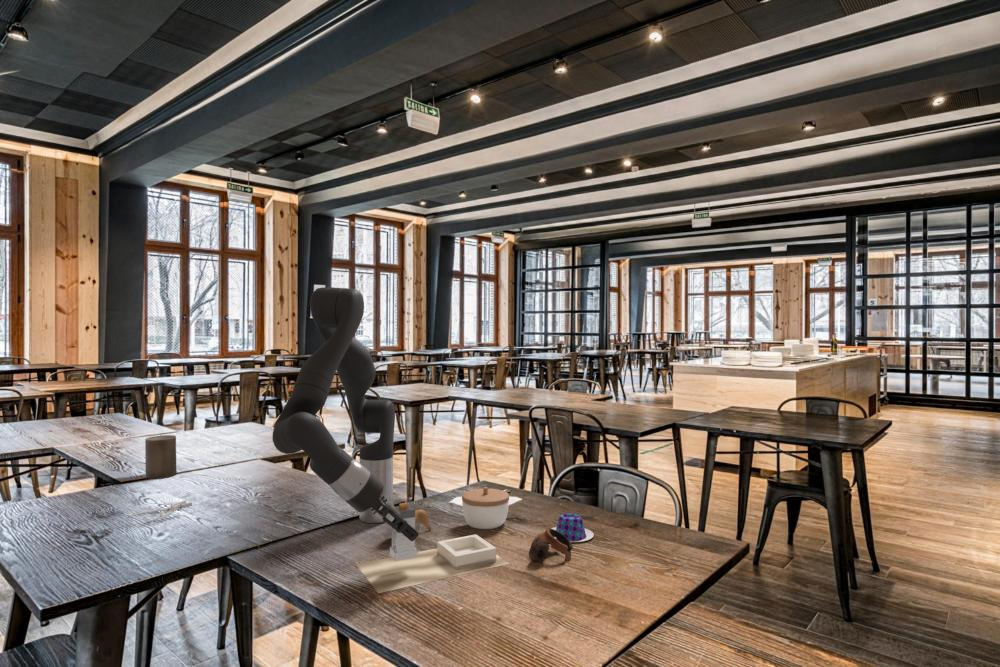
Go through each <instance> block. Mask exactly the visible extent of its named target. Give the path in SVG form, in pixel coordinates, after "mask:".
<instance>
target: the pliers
mask: <svg viewBox="0 0 1000 667" xmlns="http://www.w3.org/2000/svg"><path fill="white" fill-rule="evenodd" d="M189 506H192V507H193V502H192V501H191V502H187V500H183V501H178V502H176V503H173V504H171V505H170V507H169V508H168V507H167V508H159V509H152V510H146V511H141V512H137V513H134V514H130V515H128V518H129V517H130V518H132V517H131V516H134V517H136V516H135V515H138V516H141V515H140V514H143V515H146V514H145V513H156V514H160V516H158V517H155V518H153V519H150V520H148V521H147V522H150V523H153V522H152V521H154V522H156V521H155V520H157V521H159V520H158V519H161V518H163V519H165V518H164V517H166V518H167V516H168V517H170V516H171V514H172V513H173V512H174V511H175V512H177V511H179V510H178V509H181V510H183V509H182V508H185V507H188V508H190V507H189ZM185 509H186V508H185ZM165 510H168V511H165ZM176 510H177V511H176ZM158 511H160V512H161V511H164V512H161V513H159V512H158ZM165 512H166V513H165ZM175 512H174V513H175ZM163 513H164V514H163ZM174 513H173V514H174ZM173 514H172V515H173ZM169 515H170V516H169ZM161 520H162V519H161Z"/></svg>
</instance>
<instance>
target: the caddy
mask: <svg viewBox="0 0 1000 667" xmlns="http://www.w3.org/2000/svg"><path fill="white" fill-rule="evenodd" d="M436 542H437V543H436V544H437V545H436V546H437V548H436V549H437V555H438V556H440V557H441V558H442V559H443V560H444V561H445V562H447V563H448V564H449V565H450V566H451V567H452V568H454V569H455V570H460V569H464V568H469V567H473V566H478V565H483V564H487V563H492V562H496V555H497V547H495V546H494V545H492V544H491V543H489V542H488V541H486V539H484V538H482V537H481V536H479V535H478V534H470V535H466V536H460V537H455V538H450V539H449V538H448V539H444V540H439V541H436Z"/></svg>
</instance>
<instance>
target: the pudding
mask: <svg viewBox="0 0 1000 667" xmlns="http://www.w3.org/2000/svg"><path fill="white" fill-rule="evenodd" d="M550 529H554V530H556V531H558V532H559V533H561V534H562V535H564V536H565V537H566V538H567V539H568V540H569V541H570V542H571V543H581V542H585V541H589V540H591V539H592V538H593V537H594V535H595V534H594V532H593V531H592V530H590V529H588V528H585V525H584V521H583V518H582V516H581V515H579V514H576V513H568V512H567V513H563V514H561V515H559V517H558V520H557V524H556V526H555V527H551V528H550ZM554 538H555V539H557V538H556V537H554Z"/></svg>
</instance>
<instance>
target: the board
mask: <svg viewBox="0 0 1000 667" xmlns="http://www.w3.org/2000/svg"><path fill="white" fill-rule="evenodd" d="M507 565H510V563H509V562H508V561H506V559H504V558H502V557H501V556H499V555H498V554H496V562H492V563H487V564H483V565H478V566H473V567H469V568H464V569H460V570H455V569H454V568H452V567H451V566H450V565H449V564H448V563H447V562H445V561H444V560H443V559H442V558H441V557H440V556H438V555H437V548H432V549H427V550H421V551H417V557H416V558H411V559H406V560H401V561H396V562H395V561H394V559H393V558H392V557H391V556H390V557H386V558H382V559H376V560H372V561H366V562H362V563H361V562H360V563H356V564H355V566H356V567H357V568H358V570H359V571H360V572H361V573H362V575H363V576H364V578H366V580H367V581H368V583H369V584H370V585H371V586H372V587H373V589H374V590H375V591H376V593H377V594H382V593H386V592H390V591H396V590H400V589H403V588H408V587H409V588H410V587H413V586H417V585H422V584H426V583H430V582H431V583H432V582H434V581H440V580H444V579H448V578H453V577H457V576H461V575H466V574H471V573H475V572H480V571H485V570H489V569H493V568H497V567H501V566H507Z"/></svg>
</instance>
